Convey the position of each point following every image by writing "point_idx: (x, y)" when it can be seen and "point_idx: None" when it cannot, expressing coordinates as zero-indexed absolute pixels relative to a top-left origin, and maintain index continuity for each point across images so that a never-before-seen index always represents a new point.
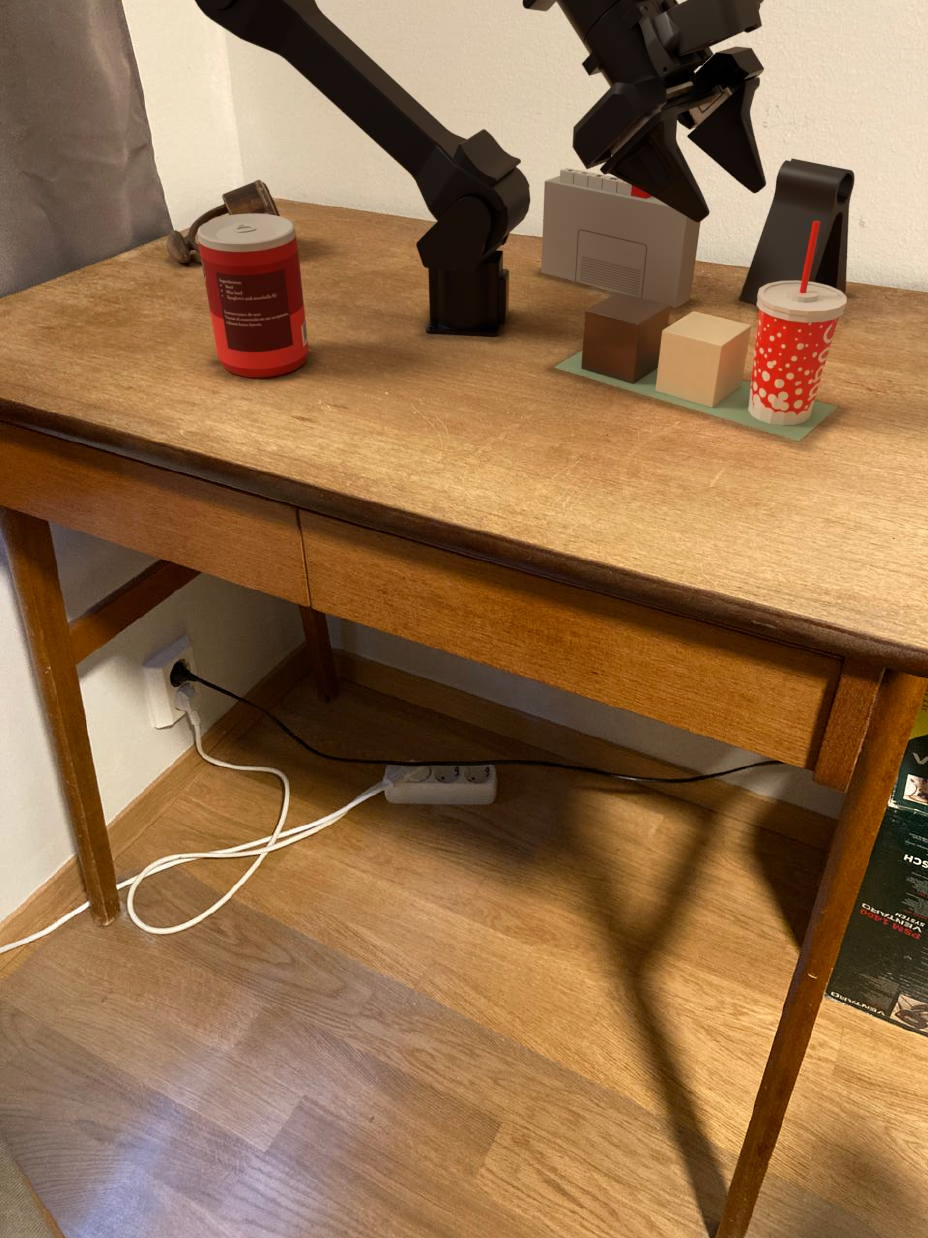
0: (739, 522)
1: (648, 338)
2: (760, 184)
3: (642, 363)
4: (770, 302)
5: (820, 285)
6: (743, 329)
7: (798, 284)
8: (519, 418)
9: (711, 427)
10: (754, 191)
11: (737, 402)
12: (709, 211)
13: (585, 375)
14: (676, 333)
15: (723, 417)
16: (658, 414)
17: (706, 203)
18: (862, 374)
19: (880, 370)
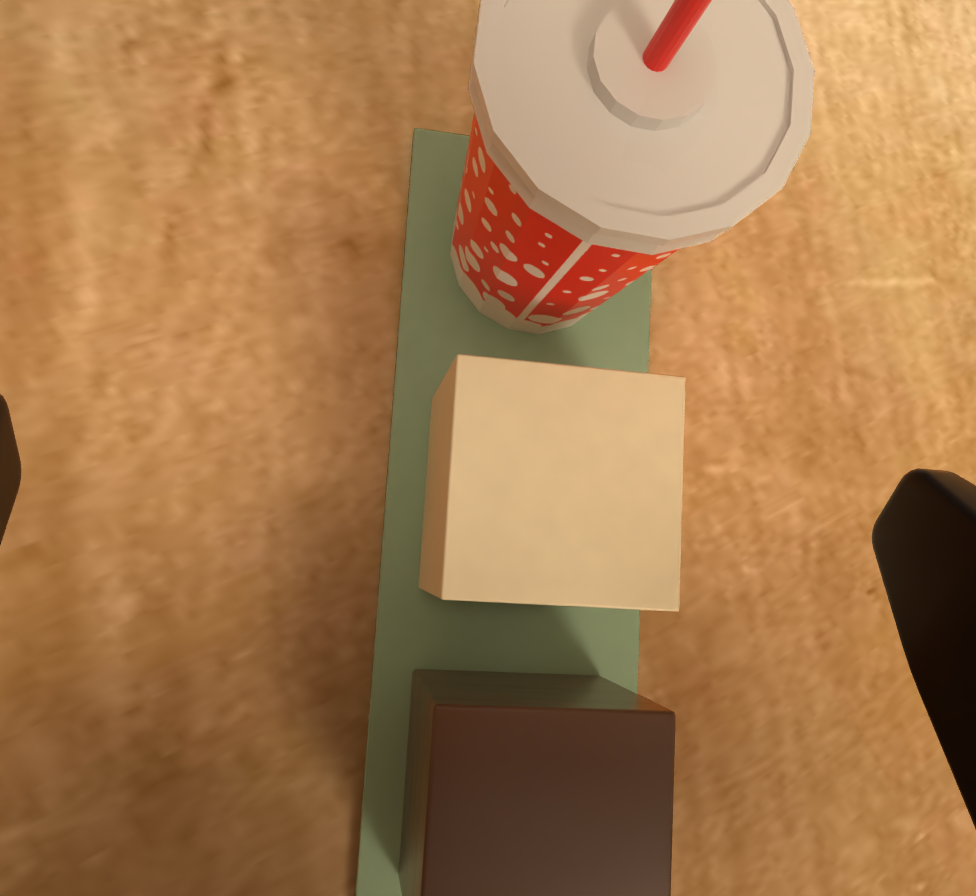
0: None
1: (571, 694)
2: (2, 423)
3: (573, 681)
4: (788, 154)
5: (498, 28)
6: (514, 364)
7: (518, 117)
8: (928, 838)
9: (687, 382)
10: (15, 476)
11: None
12: (920, 470)
13: None
14: (680, 553)
15: (646, 367)
16: (700, 532)
17: (949, 498)
18: (119, 122)
19: (56, 82)
